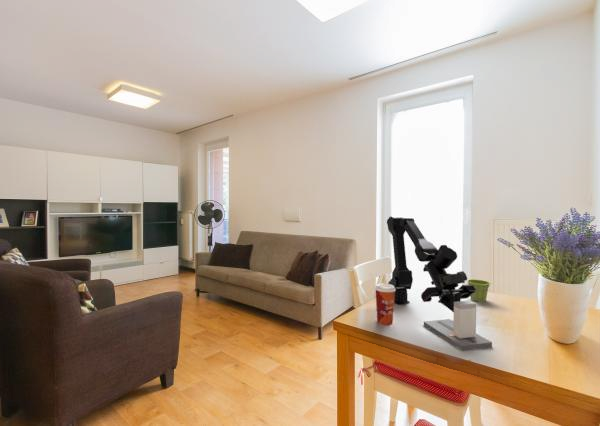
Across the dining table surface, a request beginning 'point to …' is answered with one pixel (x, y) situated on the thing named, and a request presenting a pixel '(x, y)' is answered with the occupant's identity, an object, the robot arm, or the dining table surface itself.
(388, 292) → the paper cup
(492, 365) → the dining table surface
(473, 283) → the plant pot
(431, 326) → the fader console
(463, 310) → the fader handle
